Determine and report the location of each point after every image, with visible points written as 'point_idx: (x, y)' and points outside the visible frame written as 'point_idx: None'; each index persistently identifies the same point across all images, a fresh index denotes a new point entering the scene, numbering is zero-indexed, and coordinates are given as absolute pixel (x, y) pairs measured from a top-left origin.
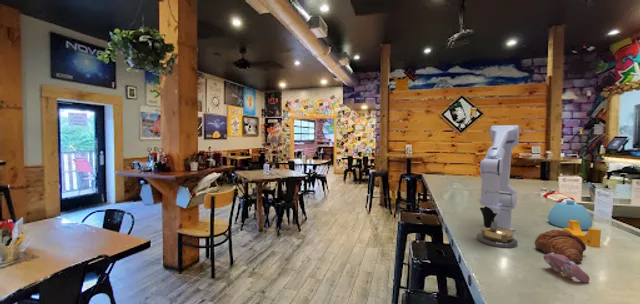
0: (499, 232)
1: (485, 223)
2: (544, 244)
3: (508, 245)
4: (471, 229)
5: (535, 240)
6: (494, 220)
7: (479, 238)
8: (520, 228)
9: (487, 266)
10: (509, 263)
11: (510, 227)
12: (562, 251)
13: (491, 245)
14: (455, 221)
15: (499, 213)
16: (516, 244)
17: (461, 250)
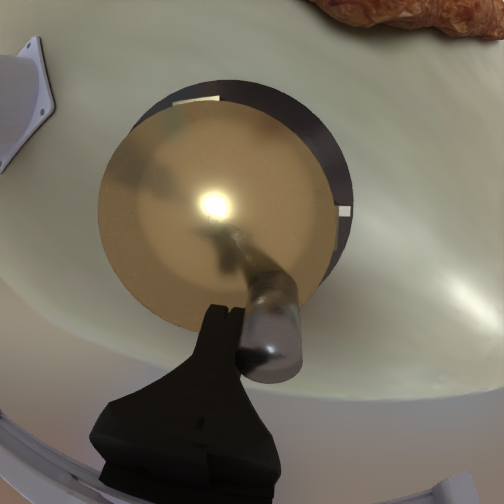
0: (292, 253)
1: (240, 376)
2: (424, 16)
3: (352, 195)
4: (58, 256)
5: (341, 4)
6: (251, 351)
7: None
8: (21, 19)
9: (477, 361)
10: (489, 291)
11: (25, 58)
12: (490, 21)
13: None
14: (2, 275)
15: (466, 472)
16: (320, 121)
17: (362, 400)
